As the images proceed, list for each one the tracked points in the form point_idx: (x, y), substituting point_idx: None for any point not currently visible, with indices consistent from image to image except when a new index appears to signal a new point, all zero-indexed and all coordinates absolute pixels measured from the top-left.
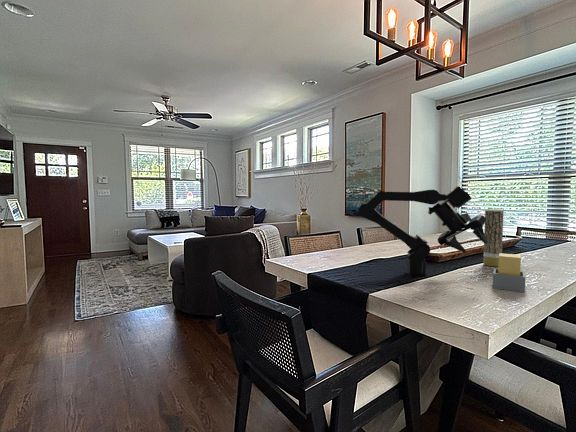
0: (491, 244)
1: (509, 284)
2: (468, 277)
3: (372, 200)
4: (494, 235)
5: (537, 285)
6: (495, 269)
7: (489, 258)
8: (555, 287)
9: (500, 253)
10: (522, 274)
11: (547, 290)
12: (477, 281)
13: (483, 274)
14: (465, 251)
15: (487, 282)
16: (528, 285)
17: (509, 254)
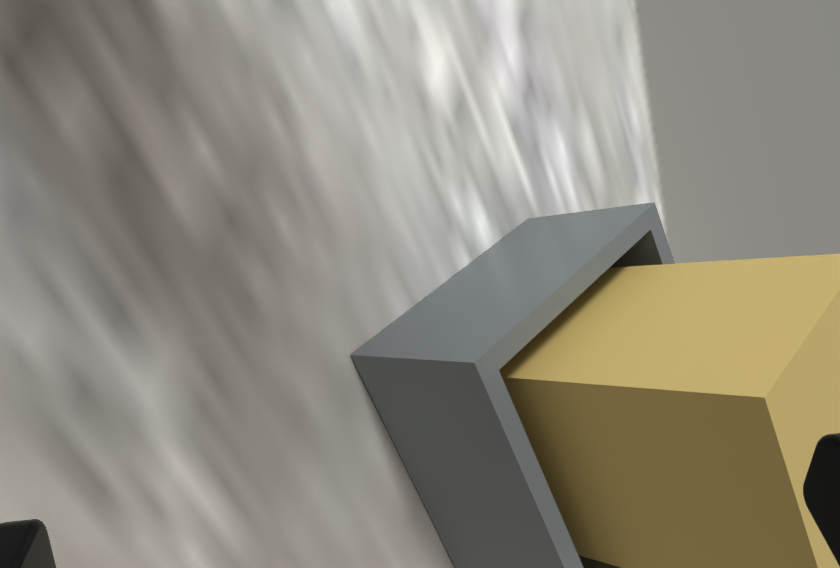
0: None
1: None
2: (43, 488)
3: None
4: None
5: (557, 95)
6: (512, 415)
7: None
8: (620, 43)
9: (776, 407)
10: (635, 253)
11: (633, 198)
12: (255, 542)
13: (28, 54)
14: (43, 557)
15: (333, 453)
16: (534, 166)
17: (828, 356)
